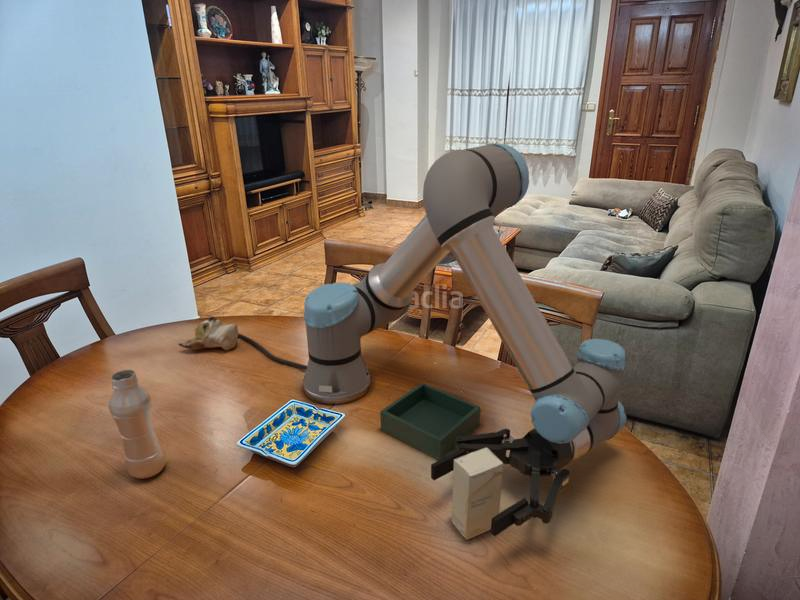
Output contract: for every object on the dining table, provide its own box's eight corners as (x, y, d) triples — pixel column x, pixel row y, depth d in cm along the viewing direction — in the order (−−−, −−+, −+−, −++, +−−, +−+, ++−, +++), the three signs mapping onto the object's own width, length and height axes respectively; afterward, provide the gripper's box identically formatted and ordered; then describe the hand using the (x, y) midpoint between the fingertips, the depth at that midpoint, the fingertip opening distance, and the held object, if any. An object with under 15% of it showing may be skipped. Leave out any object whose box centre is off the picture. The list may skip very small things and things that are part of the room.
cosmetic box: (466, 541, 77) (469, 477, 72) (450, 521, 80) (451, 459, 76) (500, 525, 79) (504, 463, 75) (483, 506, 83) (486, 445, 78)
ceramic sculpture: (223, 327, 127) (171, 325, 130) (230, 358, 130) (179, 355, 133) (245, 310, 136) (195, 309, 140) (251, 339, 139) (202, 337, 143)
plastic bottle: (153, 486, 89) (128, 387, 81) (119, 481, 90) (91, 383, 82) (176, 461, 94) (153, 367, 87) (143, 456, 96) (119, 363, 88)
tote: (380, 430, 102) (380, 411, 100) (422, 399, 112) (422, 382, 110) (440, 461, 93) (440, 441, 92) (479, 425, 103) (480, 406, 101)
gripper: (618, 505, 79) (522, 576, 68) (501, 425, 98) (411, 471, 86) (625, 466, 76) (526, 534, 65) (504, 391, 95) (411, 434, 84)
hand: (460, 498), depth 76 cm, fingers open, 13 cm apart
